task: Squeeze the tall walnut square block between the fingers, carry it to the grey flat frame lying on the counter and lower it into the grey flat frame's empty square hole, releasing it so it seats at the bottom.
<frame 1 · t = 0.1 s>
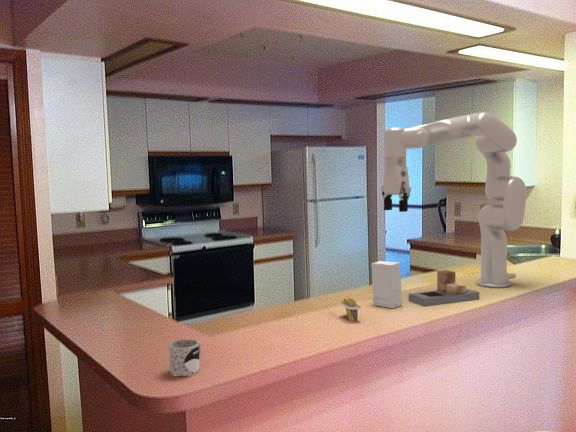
hand: (395, 210, 189), 31 cm above the counter, tool pointing down, fingers open, 9 cm apart
walnut block: (446, 292, 196), on the counter
seated oak block: (455, 298, 187), resting in grey flat frame
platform: (349, 320, 163), on the counter
skincare box: (386, 306, 179), on the counter
grey flat frame: (444, 299, 185), on the counter
mug: (189, 370, 123), on the counter
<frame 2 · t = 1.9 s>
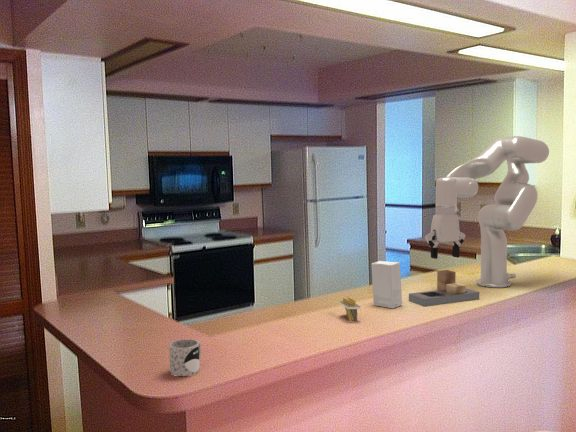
hand: (445, 257, 195), 13 cm above the counter, tool pointing down, fingers open, 9 cm apart
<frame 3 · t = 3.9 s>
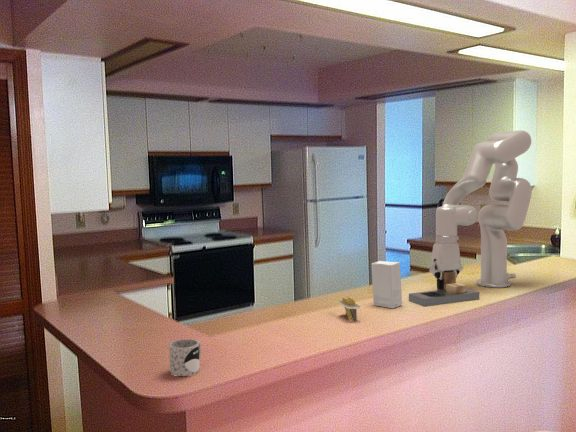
hand: (446, 288, 196), 2 cm above the counter, tool pointing down, fingers closed on walnut block, 4 cm apart
walnut block: (446, 292, 196), on the counter, touching gripper
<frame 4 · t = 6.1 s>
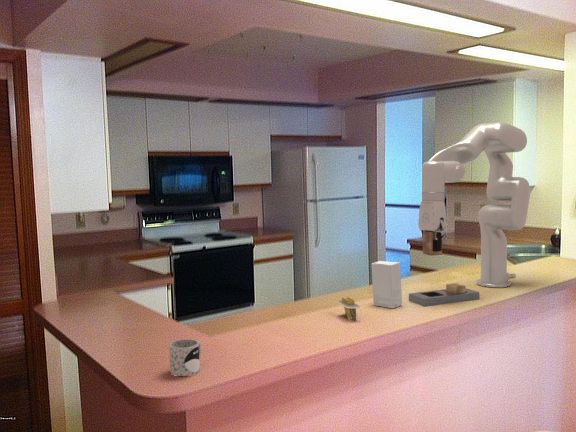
hand: (432, 249, 182), 18 cm above the counter, tool pointing down, fingers closed on walnut block, 4 cm apart
walnut block: (432, 254, 182), point 16 cm above the counter, touching gripper
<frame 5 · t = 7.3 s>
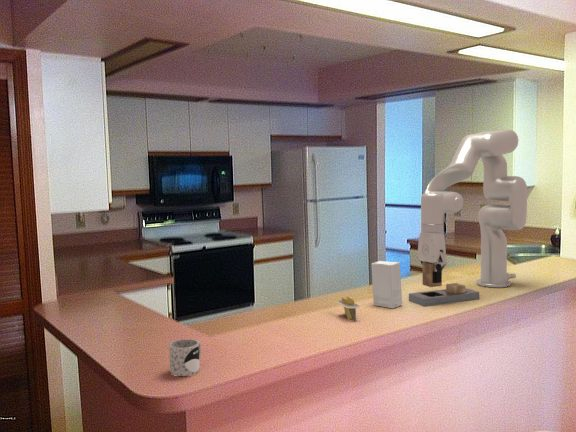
hand: (432, 280, 182), 7 cm above the counter, tool pointing down, fingers closed on walnut block, 4 cm apart
walnut block: (432, 285, 182), point 6 cm above the counter, touching gripper
when the fingers open (3 cm above the counter, at t = 8.4 s): walnut block drops 2 cm, resting in grey flat frame.
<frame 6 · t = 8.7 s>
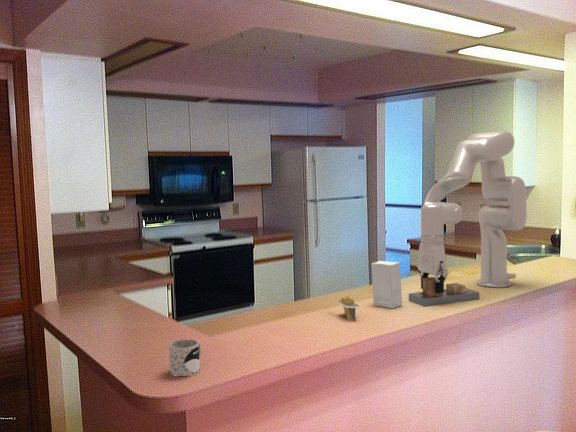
hand: (432, 290, 183), 4 cm above the counter, tool pointing down, fingers open, 7 cm apart
walnut block: (432, 301, 183), resting in grey flat frame
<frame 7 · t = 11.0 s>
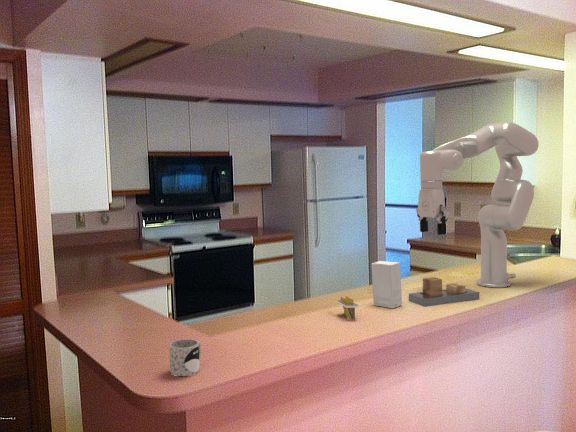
hand: (432, 233, 191), 23 cm above the counter, tool pointing down, fingers open, 9 cm apart
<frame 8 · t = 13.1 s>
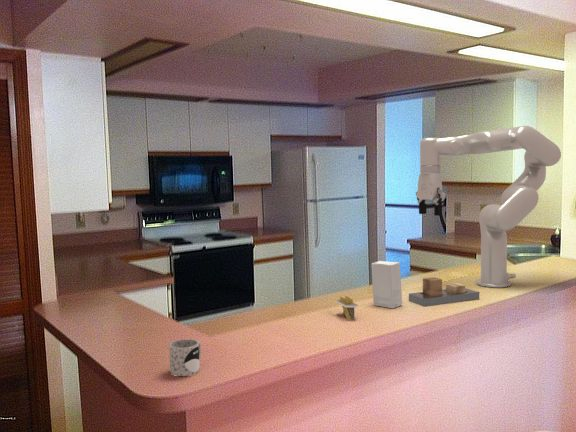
hand: (430, 214, 204), 28 cm above the counter, tool pointing down, fingers open, 9 cm apart
at the end: walnut block 0.1 cm from the target spot on the grey flat frame, point 0.0 cm above the grey flat frame's base; walnut block tilted 0°; the gripper is holding nothing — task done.
